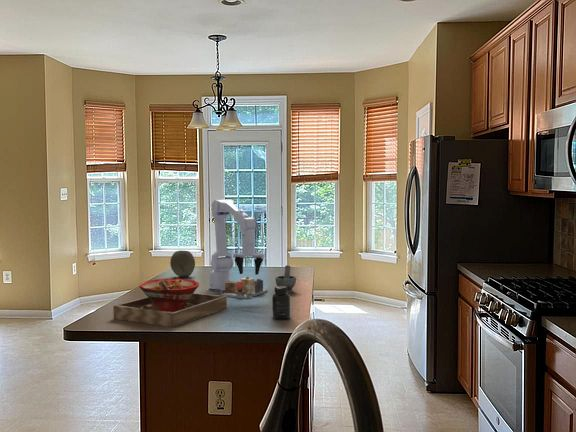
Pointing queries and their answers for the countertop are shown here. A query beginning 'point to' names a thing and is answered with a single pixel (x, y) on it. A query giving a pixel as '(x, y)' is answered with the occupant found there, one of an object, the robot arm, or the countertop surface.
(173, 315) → the wooden tray
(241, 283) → the lever
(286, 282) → the mortar and pestle
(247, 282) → the block
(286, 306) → the supplement bottle
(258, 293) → the press
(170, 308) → the stew
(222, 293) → the rail
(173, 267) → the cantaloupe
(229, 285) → the block
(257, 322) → the countertop surface
